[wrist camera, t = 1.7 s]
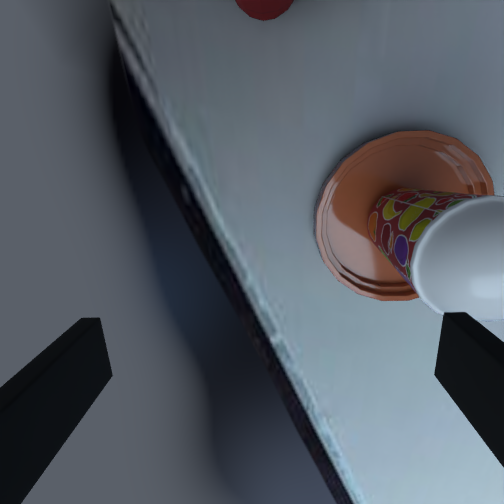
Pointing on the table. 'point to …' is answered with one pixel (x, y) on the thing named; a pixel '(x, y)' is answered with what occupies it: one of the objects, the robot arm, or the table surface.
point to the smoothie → (445, 248)
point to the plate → (377, 185)
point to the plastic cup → (264, 8)
